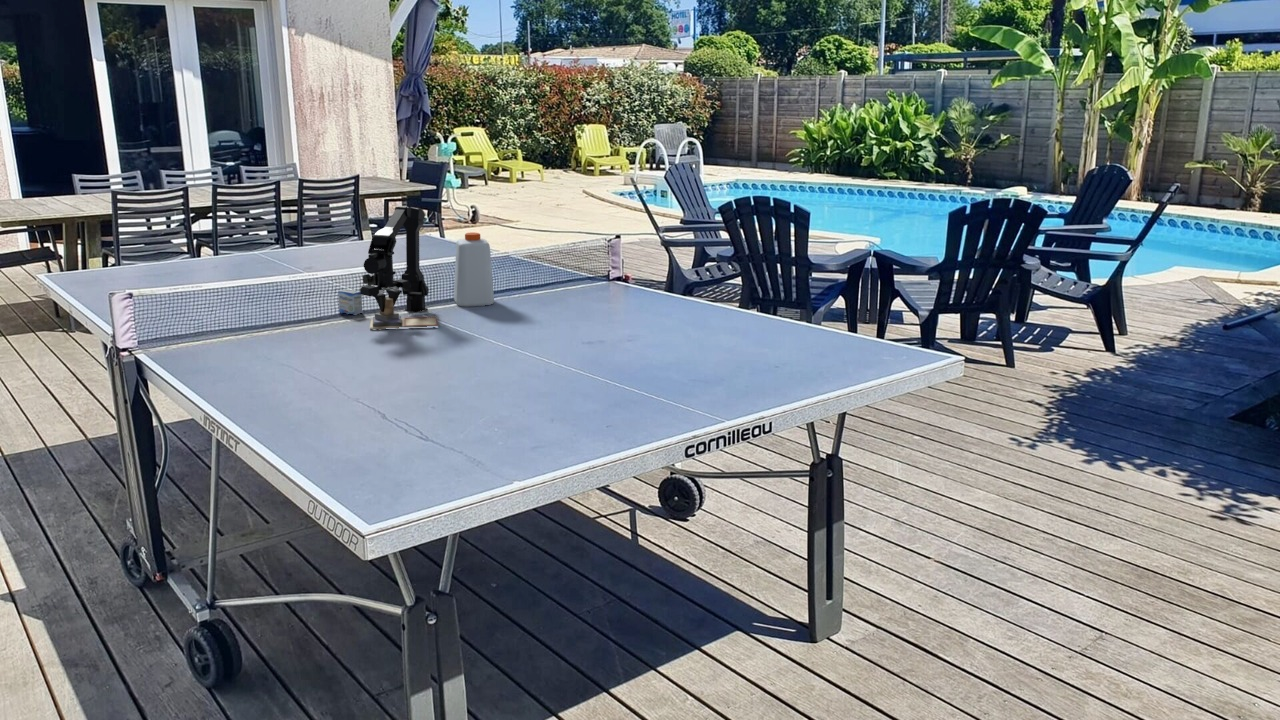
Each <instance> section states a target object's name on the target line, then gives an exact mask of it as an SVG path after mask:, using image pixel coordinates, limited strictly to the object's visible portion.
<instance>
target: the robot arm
mask: <svg viewBox="0 0 1280 720" xmlns="http://www.w3.org/2000/svg"><path fill="white" fill-rule="evenodd" d="M425 217H426V215H425V211H424V210H423V209H422V208H421V207H409V206H407V205H397V206H395V207H394V212H393V213H392V214H391V216H390V218H389V219H388V221H387V222H386V224H385V226H384V227H383V228H381V229H378V230H377V231H376V232H375V233H374V234H373V236H372V238H371V241H370V244H369V248H368V253H367V254H368V258H366V259H365V260H364V262H363V269H364V271H365V272H366V273H367V274H363V275H362V283H363V284H364V285H363V286H361V287H360V289H359V292H360V294H361V295H362V296H366V297H374V299H375V300H376V302H377V305H378V307H379V311H380V310H381V312H384V309H385V299H386V297H388V298H392V299H393V306H394V307H395V305H396V302H397V300H398V298H399V296H400V294H402V295H403V296H406V299H405V300H406V308H404V311H407V312H411V313H419V312H423V311H424V312H425V311H428V309H429V308H428V307H426V298H425V297H427V296H428V295H429V286H428V285H427V284H426V282H425V277H424V274H423V273H422V271H421V269H420V230H421V229H422V227H423V226H424V222H425ZM402 227H403V229H405V239H406V241H405V242H406V243H405V245H406V246H405V247H406V248H405V250H406V251H405V252H406V256H405V257H406V258H405V259H406V264H405V265H406V269H405V270H404V273H402V274H401V276H400V277H401V278H399V279H394V275H396V274H397V273H396V271H395V270H394V264H393V263H394V262H393V260H394V259H393V255H394V254H395V251H394V249H395V247H396V245H397V239H396V237H397V235H398V233H399V231H400V230H401V229H402ZM400 288H401V289H400ZM385 291H386V293H387V295H388V296H387V295H386V294H385V293H384V292H385Z"/></svg>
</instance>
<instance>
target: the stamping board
mask: <svg viewBox="0 0 1280 720" xmlns="http://www.w3.org/2000/svg"><path fill="white" fill-rule="evenodd" d="M369 323H370V324H369V330H370V329H386V328H399V327H427V326H438V327H439V322H438V317H437V316H417V317H416V316H414V317H413V316H412V317H410V316H409V317H402V316H401V315H399V319H396V320H391V321H387V322H385V321H381V320H377V319H375V316H372V318H371V319H370V322H369Z"/></svg>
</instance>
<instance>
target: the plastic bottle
mask: <svg viewBox="0 0 1280 720" xmlns="http://www.w3.org/2000/svg"><path fill="white" fill-rule="evenodd" d="M455 244H456V245H455V260H454V261H455V262H454V267H455V268H454V282H453V283H454V287H453V288H454V289H453V300H454V302H455V304H456V305H458V306H459V307H462V308H463V307H467V308H470V307H486V306H485V305H489V306H492V305H493V304H494V303H495V296H494V295H495V293H494V284H493V283H494V282H493V280H494V279H493V272H492V259H491V256H492V255H491V245H490V244H489V241H487V240H486V239H484V238H481V233H479V232H474V231H473V232H466V233H465V234H464V238H461V239H458V240H456V243H455ZM491 304H492V305H491Z"/></svg>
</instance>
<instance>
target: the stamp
mask: <svg viewBox="0 0 1280 720" xmlns="http://www.w3.org/2000/svg"><path fill="white" fill-rule="evenodd" d="M394 307H395V305H394V306H393V299H392V298H388V296H386V299H385V309H384V312H381V310H380V309H379V312H376V313H374V317H375V319H377V320H381V321H385V322H387V321H391V320H396V319H399V316H400V313H398V312H394V311H395V309H394Z"/></svg>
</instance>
